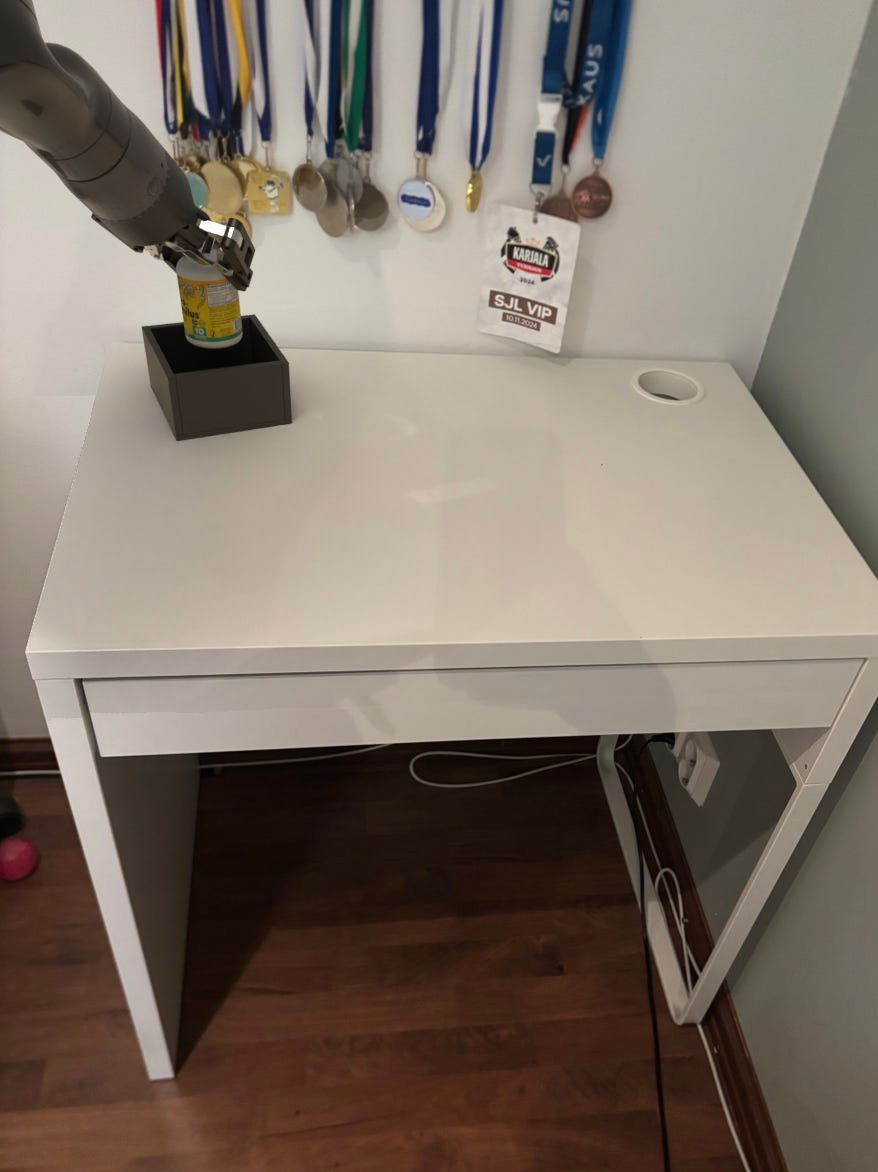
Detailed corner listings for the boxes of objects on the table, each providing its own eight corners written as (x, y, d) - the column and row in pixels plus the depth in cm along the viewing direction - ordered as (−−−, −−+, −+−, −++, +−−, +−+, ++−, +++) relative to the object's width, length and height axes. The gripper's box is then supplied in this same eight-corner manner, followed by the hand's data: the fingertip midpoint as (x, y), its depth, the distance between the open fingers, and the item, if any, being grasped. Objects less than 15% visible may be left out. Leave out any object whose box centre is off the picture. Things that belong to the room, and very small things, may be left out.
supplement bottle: (252, 343, 92) (243, 241, 86) (199, 354, 89) (185, 249, 83) (228, 323, 95) (217, 223, 89) (176, 333, 93) (162, 231, 86)
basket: (176, 440, 91) (167, 378, 87) (150, 386, 98) (141, 326, 94) (292, 423, 95) (289, 362, 91) (259, 372, 103) (254, 314, 98)
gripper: (218, 142, 72) (297, 253, 89) (54, 110, 75) (161, 223, 91) (188, 236, 72) (273, 329, 88) (25, 199, 74) (137, 296, 91)
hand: (216, 274), depth 90 cm, fingers closed on supplement bottle, 5 cm apart
